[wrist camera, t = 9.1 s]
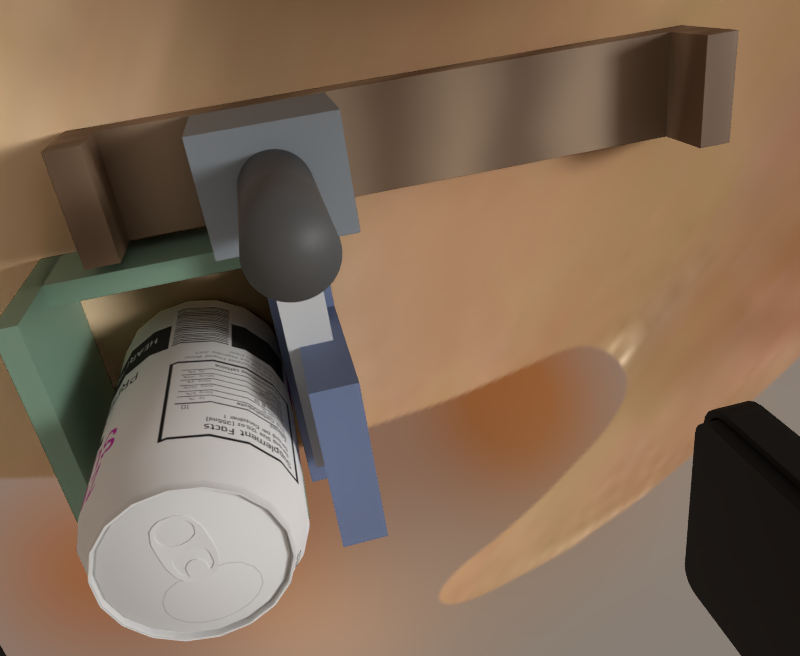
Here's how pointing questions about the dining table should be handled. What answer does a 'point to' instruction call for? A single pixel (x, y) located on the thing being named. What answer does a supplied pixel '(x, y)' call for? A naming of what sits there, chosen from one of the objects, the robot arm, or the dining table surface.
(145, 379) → the supplement can
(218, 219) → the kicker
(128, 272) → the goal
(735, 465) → the robot arm
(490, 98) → the rail
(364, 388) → the dining table surface
